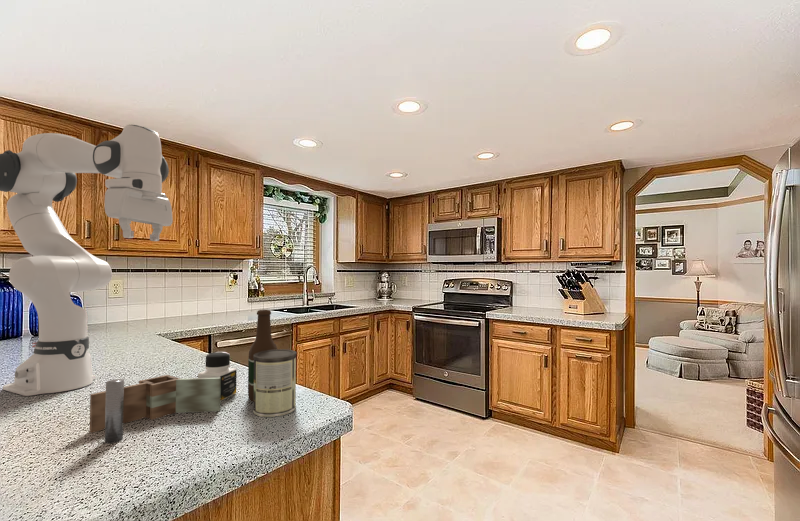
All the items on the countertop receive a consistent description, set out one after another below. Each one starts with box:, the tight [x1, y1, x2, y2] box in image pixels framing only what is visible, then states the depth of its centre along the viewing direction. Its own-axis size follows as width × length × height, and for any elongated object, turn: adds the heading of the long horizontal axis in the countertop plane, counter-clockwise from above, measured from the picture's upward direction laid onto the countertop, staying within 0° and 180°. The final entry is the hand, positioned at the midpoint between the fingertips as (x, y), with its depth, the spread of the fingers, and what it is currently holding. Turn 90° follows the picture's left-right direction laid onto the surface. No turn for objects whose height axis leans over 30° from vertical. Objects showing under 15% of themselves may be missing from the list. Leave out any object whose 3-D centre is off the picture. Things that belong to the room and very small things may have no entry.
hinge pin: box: [104, 378, 125, 444], centre depth 80 cm, size 3×3×12 cm
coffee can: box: [252, 348, 298, 418], centre depth 98 cm, size 10×10×14 cm
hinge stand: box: [89, 374, 221, 434], centre depth 92 cm, size 23×14×8 cm, turn 147°
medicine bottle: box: [197, 351, 237, 402], centre depth 108 cm, size 7×7×12 cm
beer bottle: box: [247, 309, 278, 403], centre depth 107 cm, size 8×8×24 cm
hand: (142, 239), depth 103 cm, fingers open, 8 cm apart
